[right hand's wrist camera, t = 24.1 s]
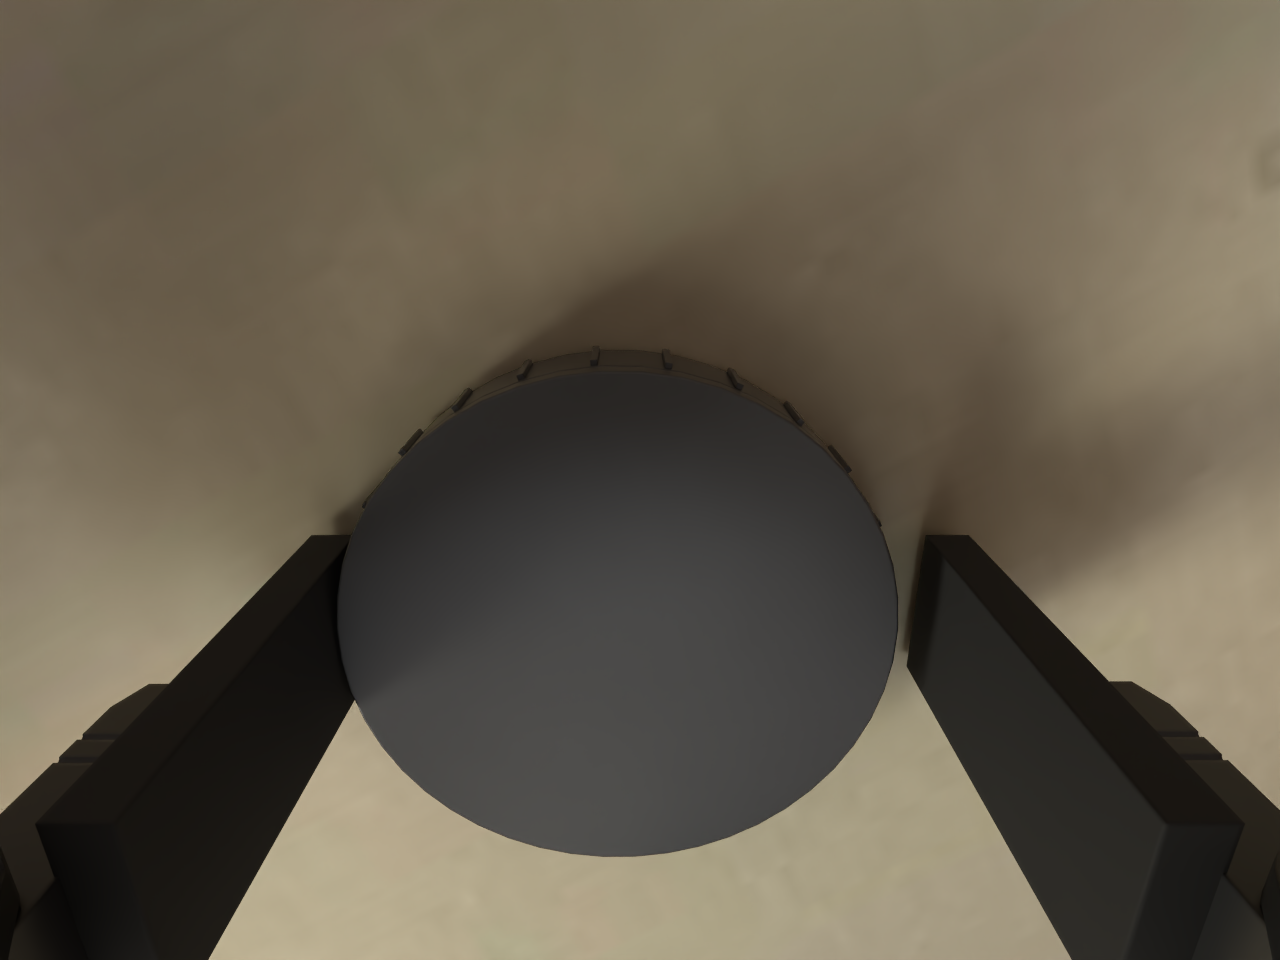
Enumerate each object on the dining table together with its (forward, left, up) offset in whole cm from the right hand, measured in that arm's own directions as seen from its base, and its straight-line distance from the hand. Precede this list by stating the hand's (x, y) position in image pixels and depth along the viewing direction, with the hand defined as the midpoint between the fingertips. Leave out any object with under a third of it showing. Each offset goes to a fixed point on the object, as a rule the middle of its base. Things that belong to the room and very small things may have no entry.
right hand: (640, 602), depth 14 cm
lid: (0, 0, +1) cm, 1 cm away
